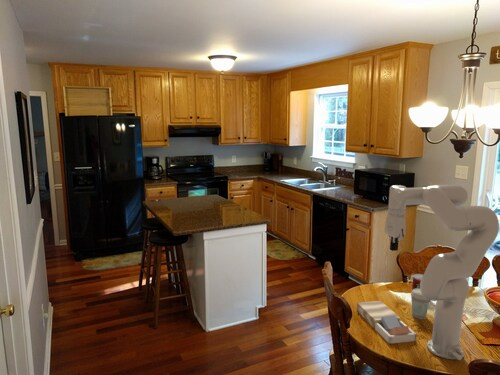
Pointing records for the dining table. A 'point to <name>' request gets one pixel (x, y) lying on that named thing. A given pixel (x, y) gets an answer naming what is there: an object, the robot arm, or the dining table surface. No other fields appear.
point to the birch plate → (375, 312)
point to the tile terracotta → (399, 330)
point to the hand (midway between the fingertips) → (393, 249)
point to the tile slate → (390, 322)
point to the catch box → (396, 338)
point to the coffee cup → (419, 304)
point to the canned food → (416, 281)
